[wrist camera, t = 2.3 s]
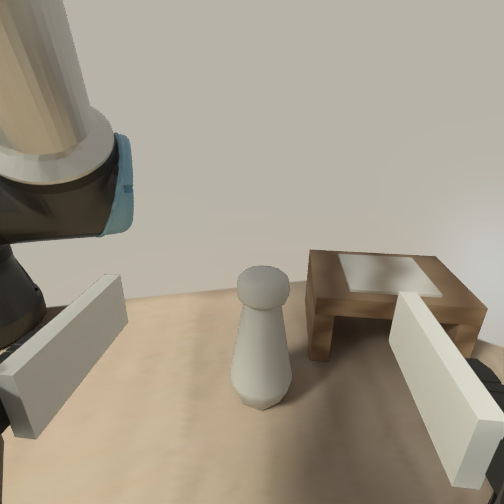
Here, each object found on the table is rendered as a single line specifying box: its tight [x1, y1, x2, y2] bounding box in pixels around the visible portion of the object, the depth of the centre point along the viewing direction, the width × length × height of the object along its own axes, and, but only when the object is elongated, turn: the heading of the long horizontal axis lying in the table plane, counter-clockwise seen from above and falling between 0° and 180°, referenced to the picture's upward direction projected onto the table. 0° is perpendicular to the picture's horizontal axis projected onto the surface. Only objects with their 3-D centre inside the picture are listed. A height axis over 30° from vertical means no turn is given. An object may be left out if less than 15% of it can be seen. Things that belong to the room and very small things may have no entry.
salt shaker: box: [230, 266, 292, 411], centre depth 28 cm, size 6×6×13 cm
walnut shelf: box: [305, 250, 488, 361], centre depth 38 cm, size 16×12×8 cm
